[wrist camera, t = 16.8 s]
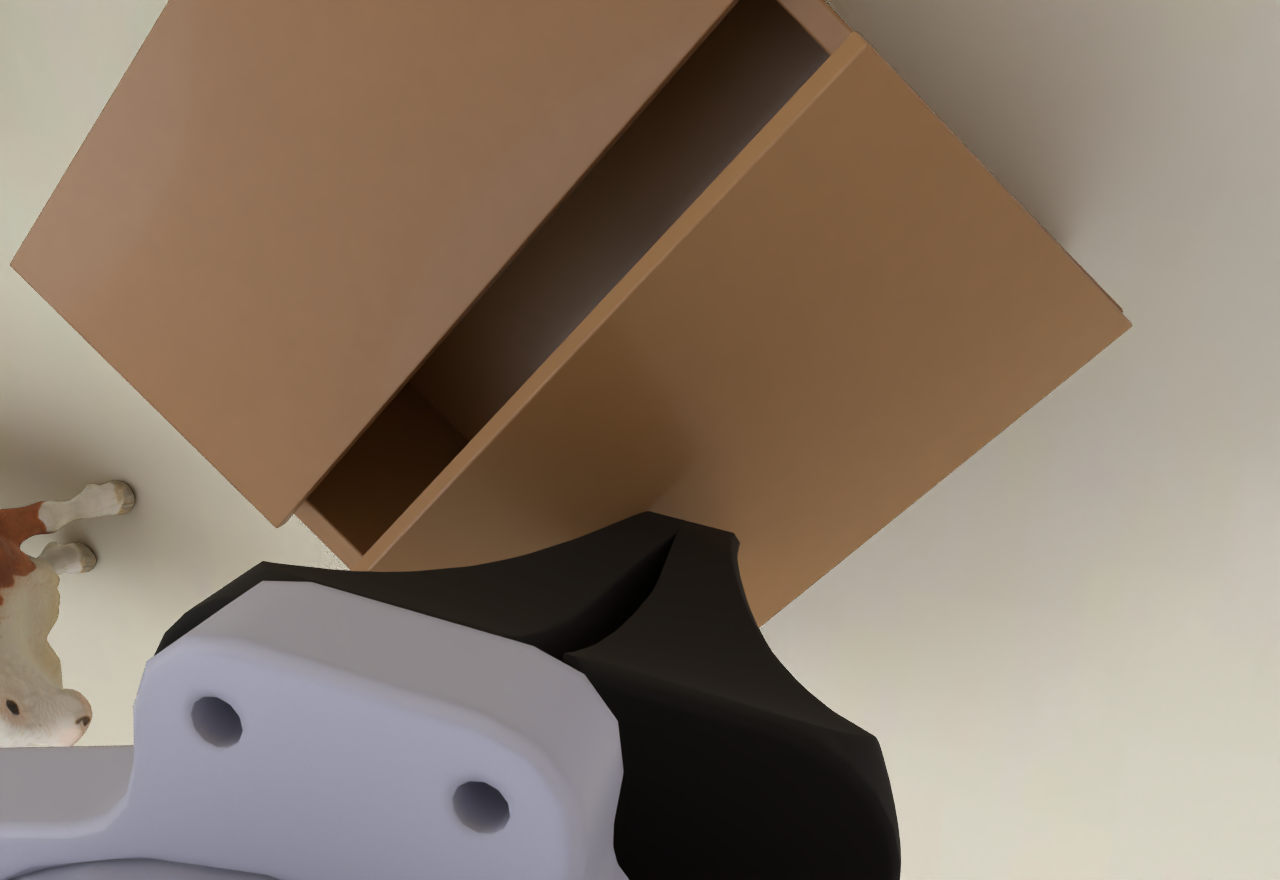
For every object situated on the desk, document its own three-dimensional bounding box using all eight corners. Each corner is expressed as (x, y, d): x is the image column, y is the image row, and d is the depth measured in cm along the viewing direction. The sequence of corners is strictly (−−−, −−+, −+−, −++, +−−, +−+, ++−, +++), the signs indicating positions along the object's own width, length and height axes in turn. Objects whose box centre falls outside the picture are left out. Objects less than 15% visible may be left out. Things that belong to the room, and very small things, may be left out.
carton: (1065, 256, 21) (1134, 320, 14) (641, 623, 26) (545, 797, 19) (579, -245, 20) (415, -423, 14) (244, 226, 25) (4, 263, 19)
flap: (1121, 312, 14) (1134, 325, 14) (544, 783, 19) (548, 799, 19) (853, 28, 10) (867, 42, 10) (192, 737, 15) (191, 756, 14)
